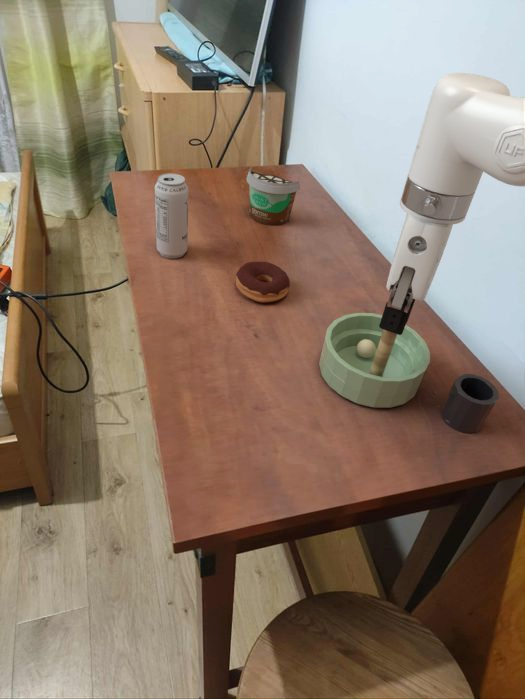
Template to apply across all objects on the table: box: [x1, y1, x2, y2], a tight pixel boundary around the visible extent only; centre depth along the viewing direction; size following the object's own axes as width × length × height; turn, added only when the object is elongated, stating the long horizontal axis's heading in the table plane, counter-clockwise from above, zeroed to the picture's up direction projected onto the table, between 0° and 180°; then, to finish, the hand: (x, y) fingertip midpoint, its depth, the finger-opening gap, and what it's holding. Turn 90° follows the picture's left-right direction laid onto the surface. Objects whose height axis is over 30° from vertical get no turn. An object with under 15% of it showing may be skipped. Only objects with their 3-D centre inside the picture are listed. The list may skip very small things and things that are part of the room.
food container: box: [246, 166, 301, 226], centre depth 113 cm, size 12×6×10 cm, turn 68°
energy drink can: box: [154, 172, 189, 259], centre depth 96 cm, size 6×6×15 cm
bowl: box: [318, 312, 431, 409], centre depth 78 cm, size 16×16×6 cm
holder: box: [440, 373, 500, 434], centre depth 73 cm, size 6×6×6 cm
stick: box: [369, 296, 409, 377], centre depth 71 cm, size 2×2×16 cm
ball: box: [356, 339, 376, 358], centre depth 81 cm, size 3×3×3 cm
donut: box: [235, 260, 291, 304], centre depth 93 cm, size 10×10×4 cm
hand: (393, 324), depth 70 cm, fingers closed on stick, 2 cm apart
